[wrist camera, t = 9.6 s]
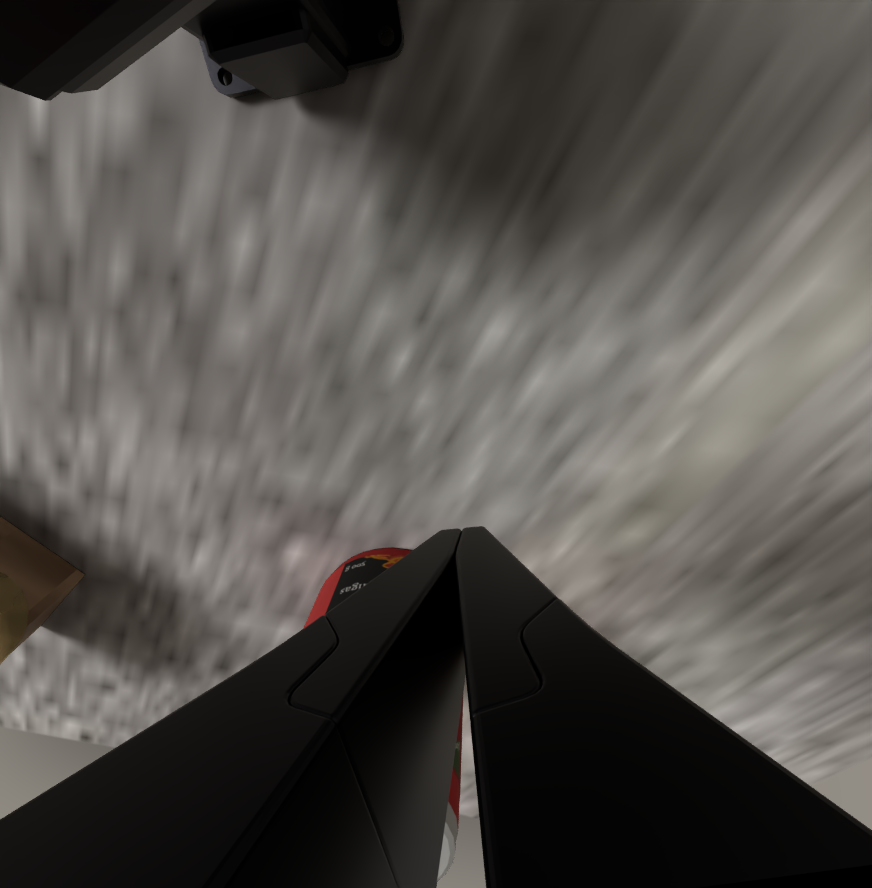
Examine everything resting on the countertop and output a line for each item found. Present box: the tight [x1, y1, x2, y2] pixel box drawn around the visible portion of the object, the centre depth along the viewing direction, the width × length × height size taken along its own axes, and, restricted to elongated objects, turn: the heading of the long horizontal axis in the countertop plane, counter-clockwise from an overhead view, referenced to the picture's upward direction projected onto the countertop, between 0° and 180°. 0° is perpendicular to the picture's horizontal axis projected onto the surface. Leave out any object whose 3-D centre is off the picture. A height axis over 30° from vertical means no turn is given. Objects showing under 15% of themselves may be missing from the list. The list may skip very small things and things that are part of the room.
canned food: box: [303, 548, 463, 882], centre depth 20 cm, size 8×8×11 cm
